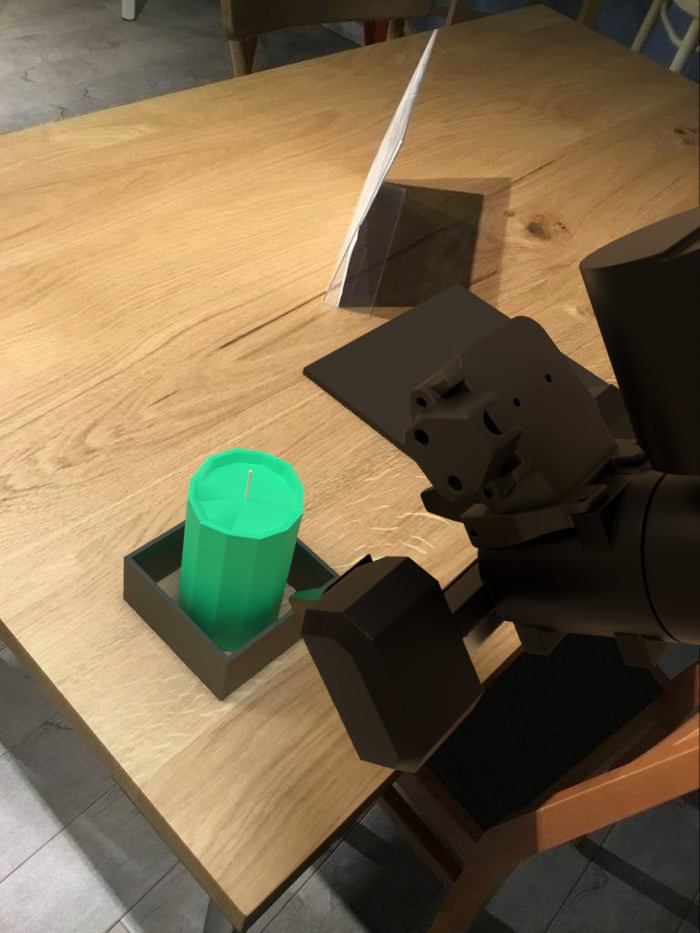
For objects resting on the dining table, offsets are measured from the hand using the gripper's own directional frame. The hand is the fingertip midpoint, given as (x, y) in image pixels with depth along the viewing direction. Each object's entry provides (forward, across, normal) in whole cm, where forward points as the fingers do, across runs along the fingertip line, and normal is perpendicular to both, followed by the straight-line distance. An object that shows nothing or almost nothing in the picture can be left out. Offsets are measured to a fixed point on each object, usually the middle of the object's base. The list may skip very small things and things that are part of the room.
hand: (364, 549), depth 40 cm
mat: (+16, -29, +3) cm, 33 cm away
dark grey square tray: (+14, 0, +4) cm, 15 cm away
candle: (+14, 0, +4) cm, 15 cm away
